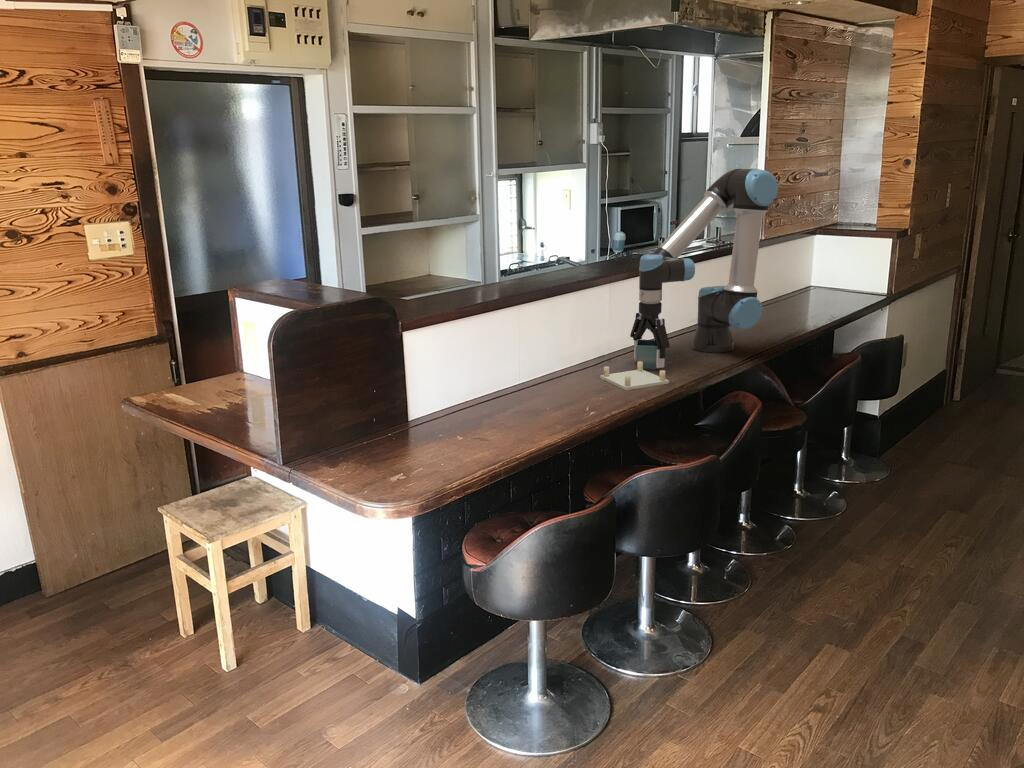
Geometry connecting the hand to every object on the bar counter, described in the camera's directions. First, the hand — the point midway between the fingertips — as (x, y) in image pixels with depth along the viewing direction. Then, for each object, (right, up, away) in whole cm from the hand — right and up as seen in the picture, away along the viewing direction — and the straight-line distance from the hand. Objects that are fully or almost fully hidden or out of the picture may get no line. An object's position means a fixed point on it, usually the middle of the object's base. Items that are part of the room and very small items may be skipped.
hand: (648, 363), depth 285 cm
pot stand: (-7, -6, -14) cm, 17 cm away
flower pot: (0, -2, +1) cm, 2 cm away
